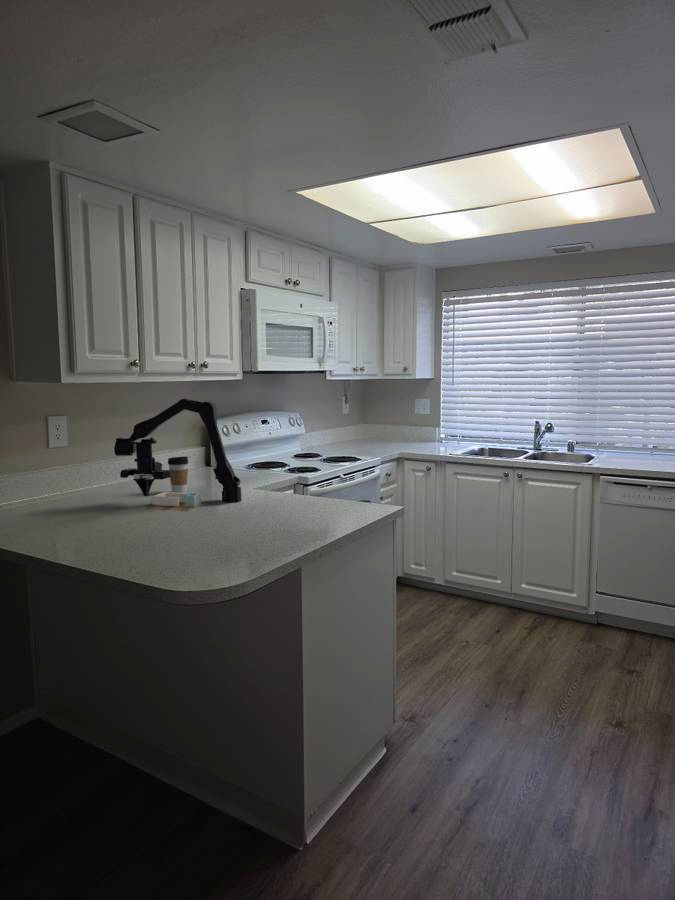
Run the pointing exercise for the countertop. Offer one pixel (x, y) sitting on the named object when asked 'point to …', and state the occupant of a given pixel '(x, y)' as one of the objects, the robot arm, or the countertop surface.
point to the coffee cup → (178, 474)
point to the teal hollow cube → (192, 500)
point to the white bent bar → (168, 499)
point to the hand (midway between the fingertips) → (146, 496)
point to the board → (174, 507)
